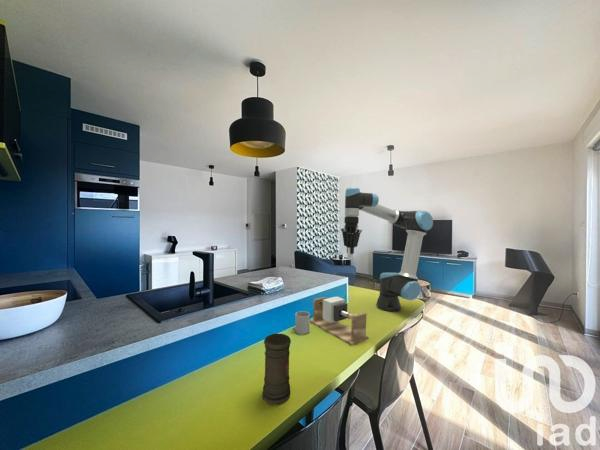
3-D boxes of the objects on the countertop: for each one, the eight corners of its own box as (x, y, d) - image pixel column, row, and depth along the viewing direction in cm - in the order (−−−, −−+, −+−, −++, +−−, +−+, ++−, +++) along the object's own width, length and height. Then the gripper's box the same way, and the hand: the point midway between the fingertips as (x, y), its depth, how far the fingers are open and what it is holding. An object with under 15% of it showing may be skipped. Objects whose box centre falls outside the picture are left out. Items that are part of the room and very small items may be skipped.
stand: (310, 322, 134) (310, 299, 133) (326, 317, 141) (326, 296, 140) (351, 345, 109) (352, 318, 109) (368, 338, 116) (369, 312, 116)
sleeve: (322, 318, 127) (323, 299, 127) (336, 314, 133) (336, 296, 132) (330, 322, 122) (330, 302, 122) (344, 318, 128) (344, 299, 128)
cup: (299, 335, 118) (299, 317, 117) (290, 327, 126) (290, 310, 126) (312, 333, 121) (312, 315, 121) (302, 325, 130) (302, 308, 130)
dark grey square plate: (333, 320, 122) (334, 305, 122) (344, 317, 126) (344, 302, 126) (336, 321, 120) (336, 306, 120) (347, 318, 125) (347, 303, 124)
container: (266, 408, 72) (268, 348, 71) (259, 389, 80) (260, 335, 80) (294, 400, 75) (296, 343, 75) (284, 382, 83) (286, 330, 83)
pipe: (318, 305, 135) (318, 300, 135) (321, 304, 137) (322, 299, 137) (356, 323, 113) (357, 317, 113) (361, 322, 114) (361, 316, 114)
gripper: (338, 216, 135) (336, 258, 135) (356, 216, 124) (354, 261, 125) (347, 216, 139) (345, 257, 140) (365, 216, 129) (364, 260, 129)
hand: (349, 259), depth 132 cm, fingers closed
